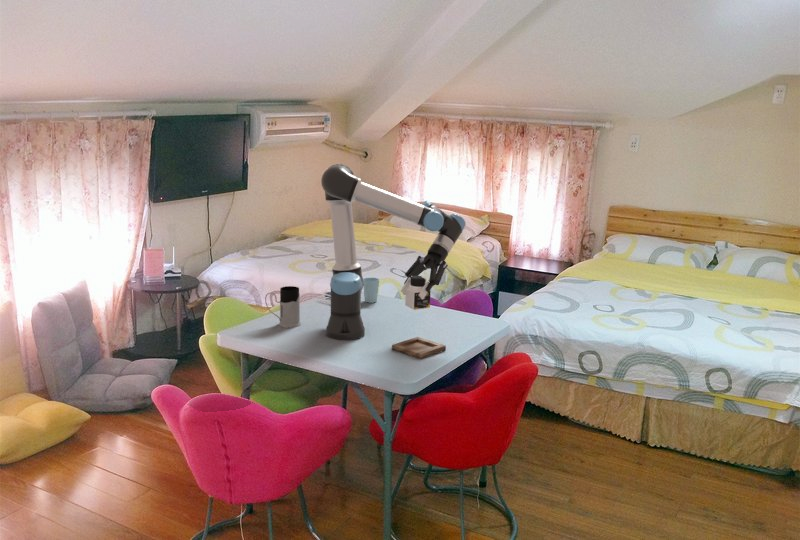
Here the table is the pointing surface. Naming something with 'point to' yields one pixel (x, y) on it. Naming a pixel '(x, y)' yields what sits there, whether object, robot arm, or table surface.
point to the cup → (371, 289)
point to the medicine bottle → (417, 294)
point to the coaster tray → (418, 347)
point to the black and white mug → (288, 306)
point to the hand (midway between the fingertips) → (411, 295)
